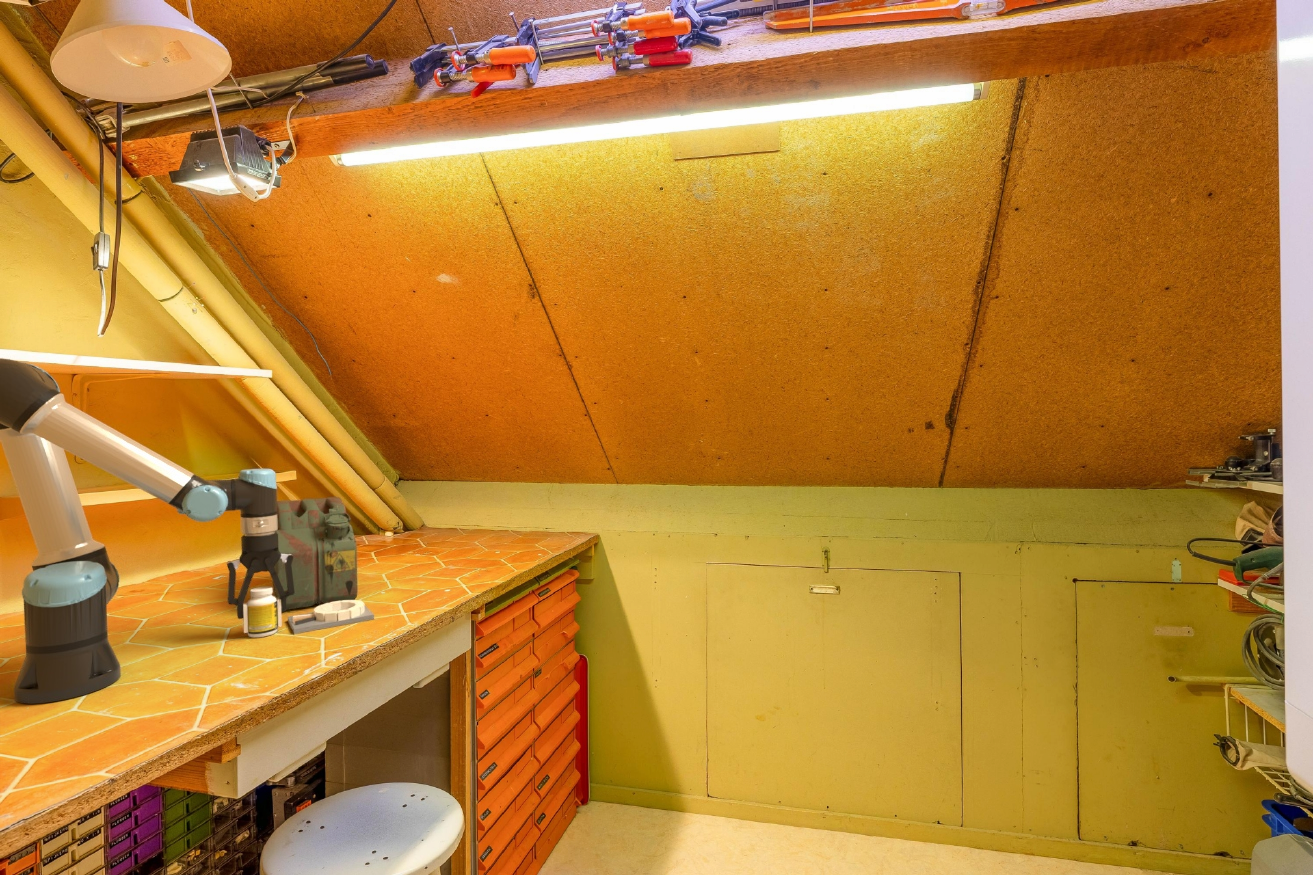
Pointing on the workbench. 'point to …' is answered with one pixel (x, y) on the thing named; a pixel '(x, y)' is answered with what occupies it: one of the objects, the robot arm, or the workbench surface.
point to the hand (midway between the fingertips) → (262, 627)
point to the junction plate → (327, 624)
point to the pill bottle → (262, 612)
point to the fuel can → (317, 551)
